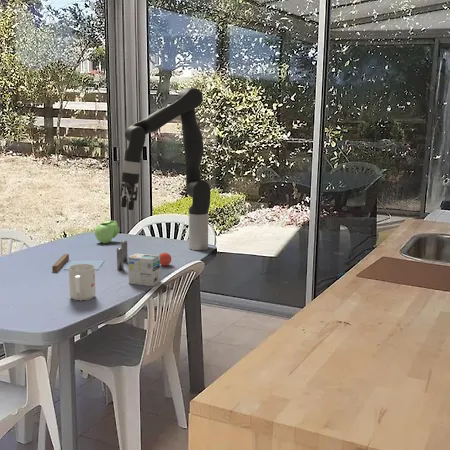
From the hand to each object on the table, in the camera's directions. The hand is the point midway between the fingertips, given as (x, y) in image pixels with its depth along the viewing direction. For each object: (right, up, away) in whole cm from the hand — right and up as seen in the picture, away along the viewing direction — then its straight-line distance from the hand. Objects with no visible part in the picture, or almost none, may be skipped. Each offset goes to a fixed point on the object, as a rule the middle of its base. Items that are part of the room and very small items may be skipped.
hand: (127, 208), depth 253 cm
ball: (+18, -22, -9) cm, 29 cm away
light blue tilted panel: (-16, -25, -9) cm, 31 cm away
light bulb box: (+12, -30, -33) cm, 46 cm away
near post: (0, -26, -15) cm, 30 cm away
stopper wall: (-26, -25, -10) cm, 37 cm away
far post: (-1, -23, -3) cm, 23 cm away
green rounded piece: (-15, -16, +33) cm, 40 cm away
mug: (-7, -33, -52) cm, 62 cm away
